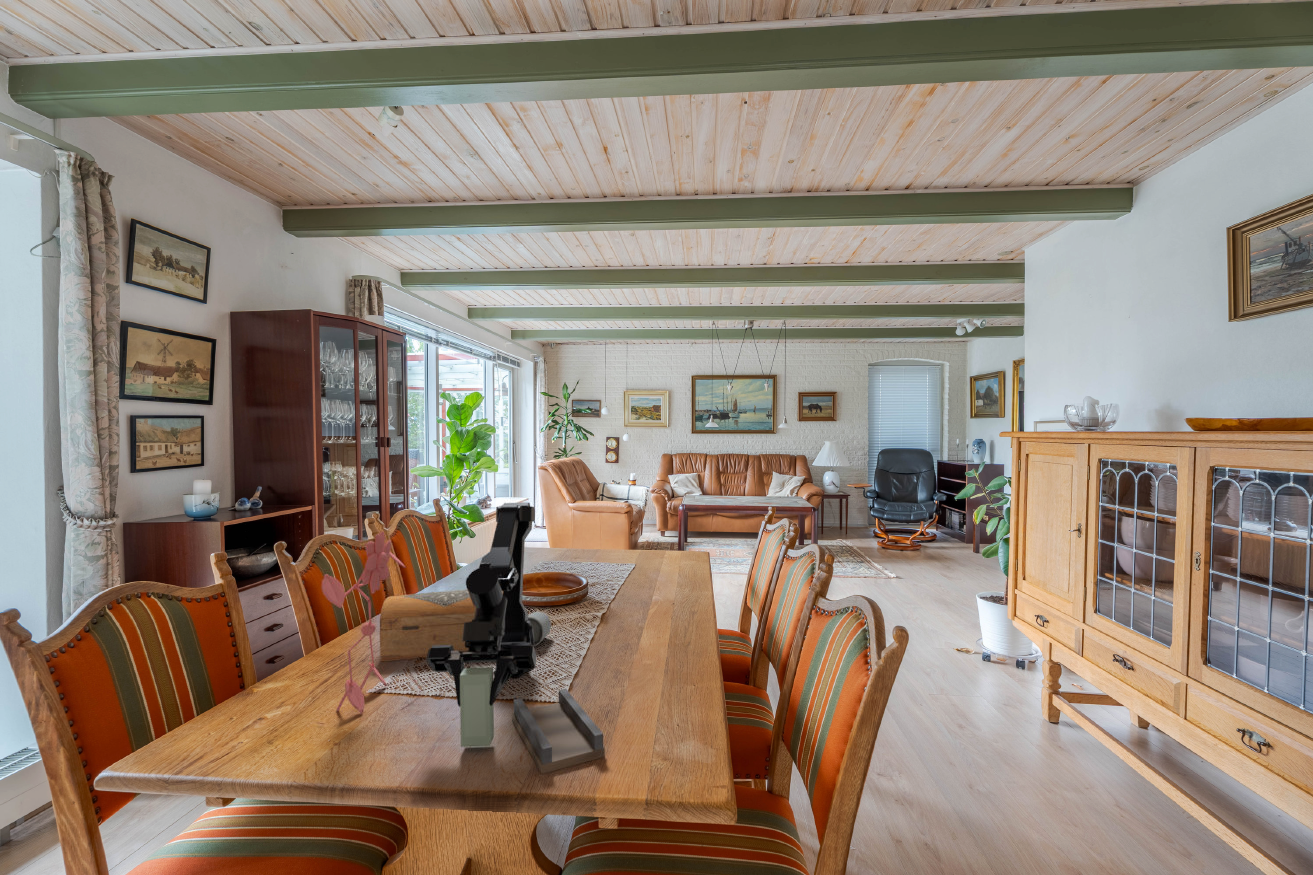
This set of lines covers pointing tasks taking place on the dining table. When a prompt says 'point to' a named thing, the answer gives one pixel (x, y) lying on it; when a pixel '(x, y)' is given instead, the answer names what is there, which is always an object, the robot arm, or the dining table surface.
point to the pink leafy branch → (374, 574)
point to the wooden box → (423, 623)
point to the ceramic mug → (539, 626)
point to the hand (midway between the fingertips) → (475, 705)
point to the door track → (558, 733)
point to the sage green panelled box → (476, 707)
